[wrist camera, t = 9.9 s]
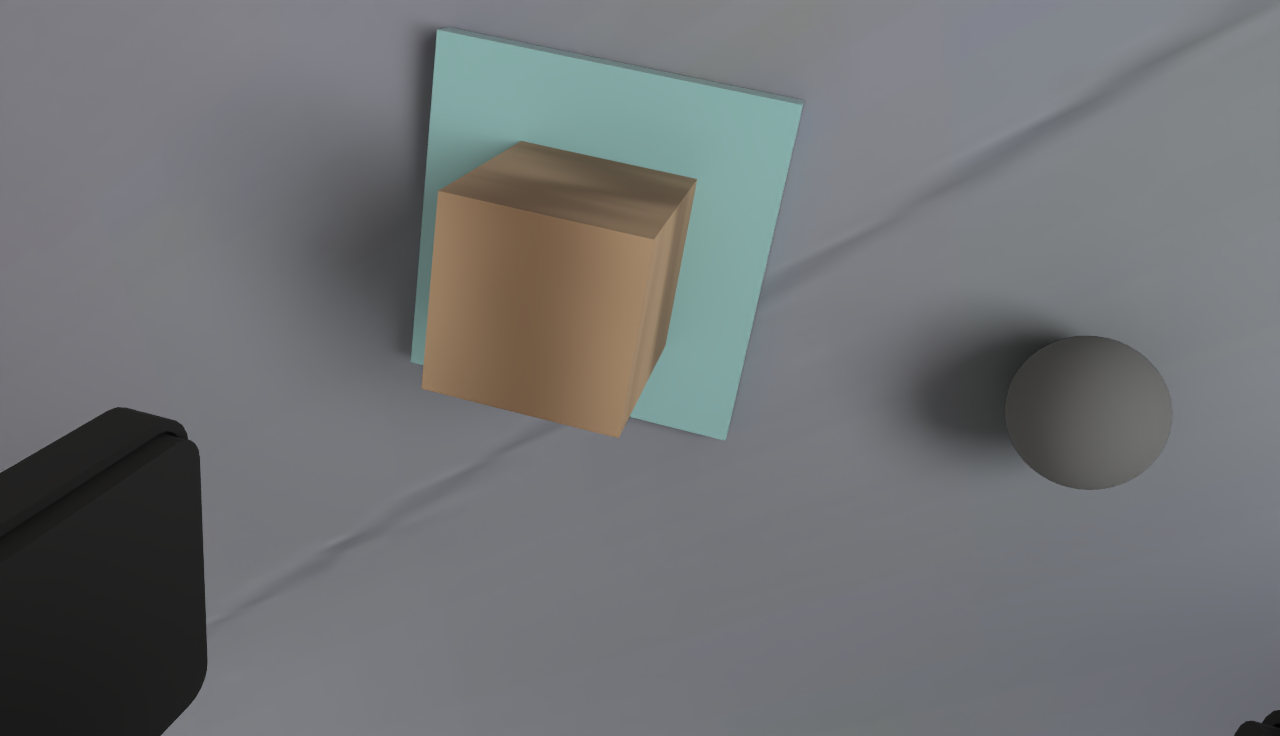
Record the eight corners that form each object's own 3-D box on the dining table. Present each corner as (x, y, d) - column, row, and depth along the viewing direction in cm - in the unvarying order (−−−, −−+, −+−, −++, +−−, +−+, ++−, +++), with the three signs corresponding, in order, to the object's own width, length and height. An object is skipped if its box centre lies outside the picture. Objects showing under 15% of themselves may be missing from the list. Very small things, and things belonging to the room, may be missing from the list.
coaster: (804, 100, 27) (802, 105, 27) (728, 428, 32) (725, 440, 31) (448, 27, 29) (437, 29, 28) (420, 352, 33) (410, 362, 32)
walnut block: (697, 179, 28) (653, 239, 23) (665, 345, 30) (618, 438, 25) (521, 140, 29) (438, 191, 23) (502, 307, 31) (421, 388, 25)
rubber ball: (1174, 333, 28) (1218, 394, 24) (1120, 461, 29) (1154, 535, 26) (1023, 299, 28) (1045, 354, 25) (979, 427, 30) (992, 495, 26)
